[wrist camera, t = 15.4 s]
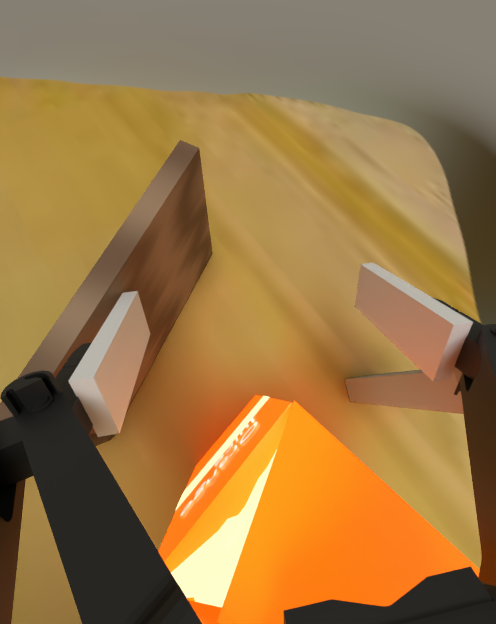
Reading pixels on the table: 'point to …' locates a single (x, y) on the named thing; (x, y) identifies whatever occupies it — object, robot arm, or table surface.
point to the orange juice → (293, 524)
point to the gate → (140, 269)
